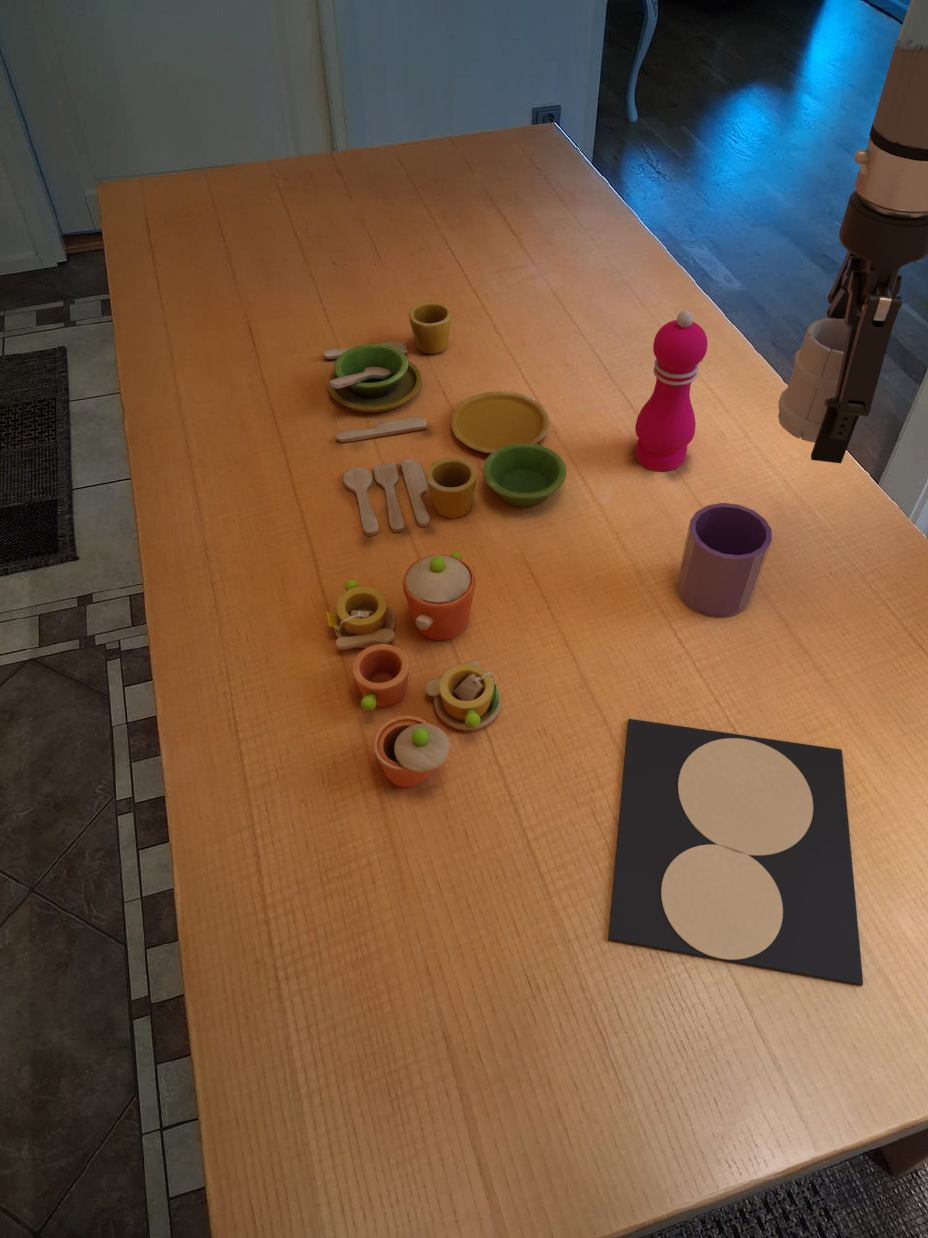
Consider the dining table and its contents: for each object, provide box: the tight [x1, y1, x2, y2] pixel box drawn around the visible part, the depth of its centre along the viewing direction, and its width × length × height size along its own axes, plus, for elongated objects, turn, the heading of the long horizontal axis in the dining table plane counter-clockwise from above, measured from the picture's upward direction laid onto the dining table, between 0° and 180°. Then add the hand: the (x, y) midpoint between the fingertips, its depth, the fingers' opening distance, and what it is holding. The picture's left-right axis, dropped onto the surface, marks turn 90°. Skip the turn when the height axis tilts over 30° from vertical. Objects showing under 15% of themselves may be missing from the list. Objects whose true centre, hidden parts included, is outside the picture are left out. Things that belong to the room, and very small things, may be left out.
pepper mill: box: [634, 310, 709, 472], centre depth 106 cm, size 7×7×20 cm
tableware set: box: [322, 301, 567, 537], centre depth 116 cm, size 41×28×6 cm
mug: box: [777, 317, 858, 444], centre depth 85 cm, size 8×12×12 cm, turn 178°
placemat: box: [607, 718, 864, 987], centre depth 79 cm, size 20×22×1 cm
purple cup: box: [675, 502, 773, 618], centre depth 95 cm, size 8×8×9 cm
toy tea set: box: [325, 551, 502, 788], centre depth 87 cm, size 26×16×10 cm, turn 16°
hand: (823, 419), depth 88 cm, fingers closed on mug, 12 cm apart
